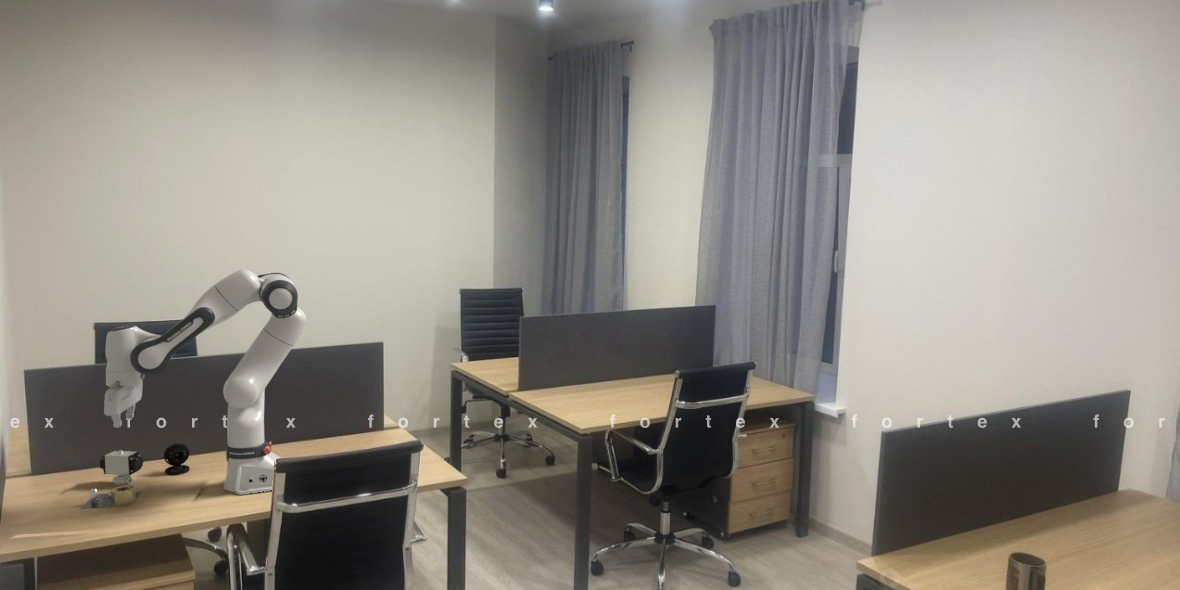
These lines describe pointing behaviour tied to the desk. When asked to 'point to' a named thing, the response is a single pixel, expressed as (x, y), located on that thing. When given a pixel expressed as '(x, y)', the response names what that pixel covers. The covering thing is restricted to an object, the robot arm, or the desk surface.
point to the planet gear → (123, 495)
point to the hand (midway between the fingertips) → (123, 422)
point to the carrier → (101, 500)
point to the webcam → (176, 459)
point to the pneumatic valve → (121, 465)
